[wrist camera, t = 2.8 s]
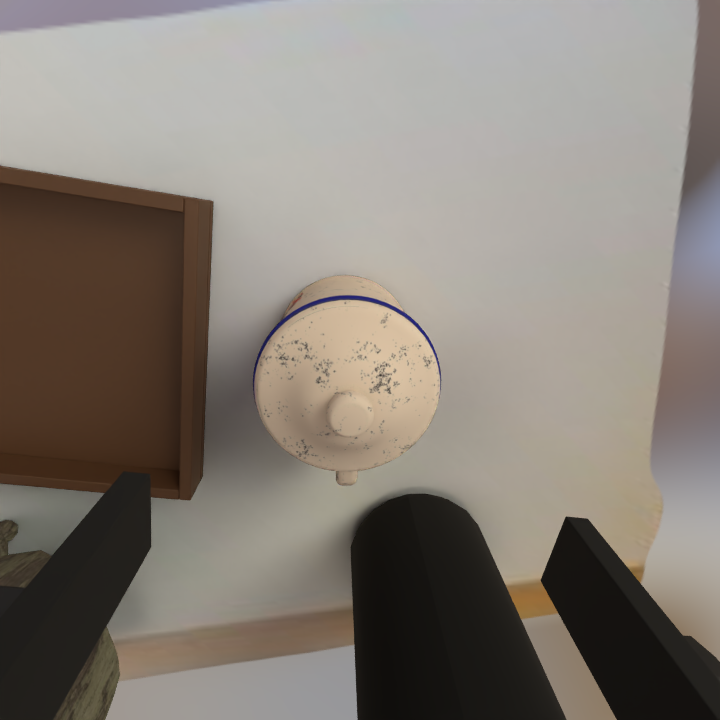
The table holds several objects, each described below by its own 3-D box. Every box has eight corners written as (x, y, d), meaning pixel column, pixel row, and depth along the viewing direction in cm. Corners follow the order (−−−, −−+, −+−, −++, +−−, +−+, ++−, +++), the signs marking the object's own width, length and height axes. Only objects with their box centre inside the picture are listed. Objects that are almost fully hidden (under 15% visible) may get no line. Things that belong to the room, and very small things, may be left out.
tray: (-52, 451, 29) (-91, 475, 26) (-112, 147, 23) (-171, 138, 20) (203, 476, 31) (190, 501, 28) (213, 201, 25) (198, 199, 22)
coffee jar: (361, 598, 36) (383, 941, 19) (338, 499, 32) (340, 815, 15) (481, 577, 36) (611, 902, 19) (472, 475, 32) (624, 766, 15)
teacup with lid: (273, 269, 26) (227, 311, 15) (415, 271, 27) (470, 311, 16) (282, 436, 30) (251, 563, 19) (405, 434, 31) (444, 557, 20)
